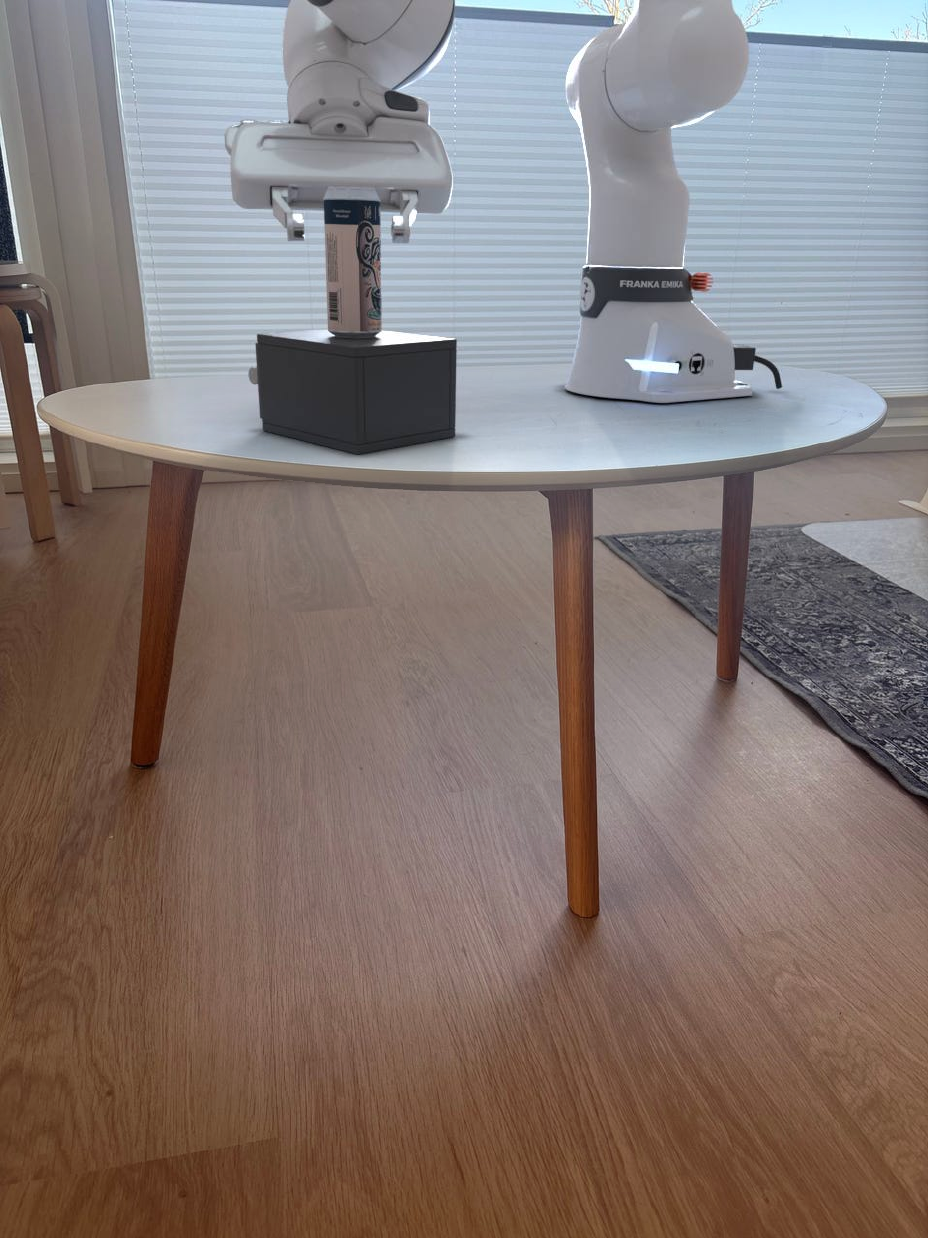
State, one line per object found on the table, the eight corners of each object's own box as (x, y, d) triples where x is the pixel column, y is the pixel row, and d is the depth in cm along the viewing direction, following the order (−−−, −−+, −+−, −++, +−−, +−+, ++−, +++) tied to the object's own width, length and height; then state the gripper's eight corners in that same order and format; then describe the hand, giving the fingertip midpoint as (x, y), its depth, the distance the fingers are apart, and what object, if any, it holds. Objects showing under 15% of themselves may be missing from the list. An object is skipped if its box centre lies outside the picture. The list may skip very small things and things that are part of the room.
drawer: (235, 412, 89) (230, 338, 87) (321, 401, 96) (319, 333, 94) (345, 438, 79) (343, 355, 76) (433, 424, 86) (433, 347, 83)
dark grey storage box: (262, 430, 86) (256, 333, 83) (359, 416, 94) (356, 327, 90) (357, 454, 77) (355, 347, 74) (455, 436, 85) (457, 338, 82)
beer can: (379, 339, 80) (377, 185, 75) (324, 338, 80) (318, 184, 75) (384, 334, 84) (383, 188, 80) (332, 332, 84) (327, 187, 80)
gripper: (221, 89, 83) (227, 205, 78) (444, 101, 88) (464, 212, 82) (226, 149, 89) (232, 261, 84) (435, 157, 93) (453, 264, 88)
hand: (349, 237), depth 83 cm, fingers open, 8 cm apart
